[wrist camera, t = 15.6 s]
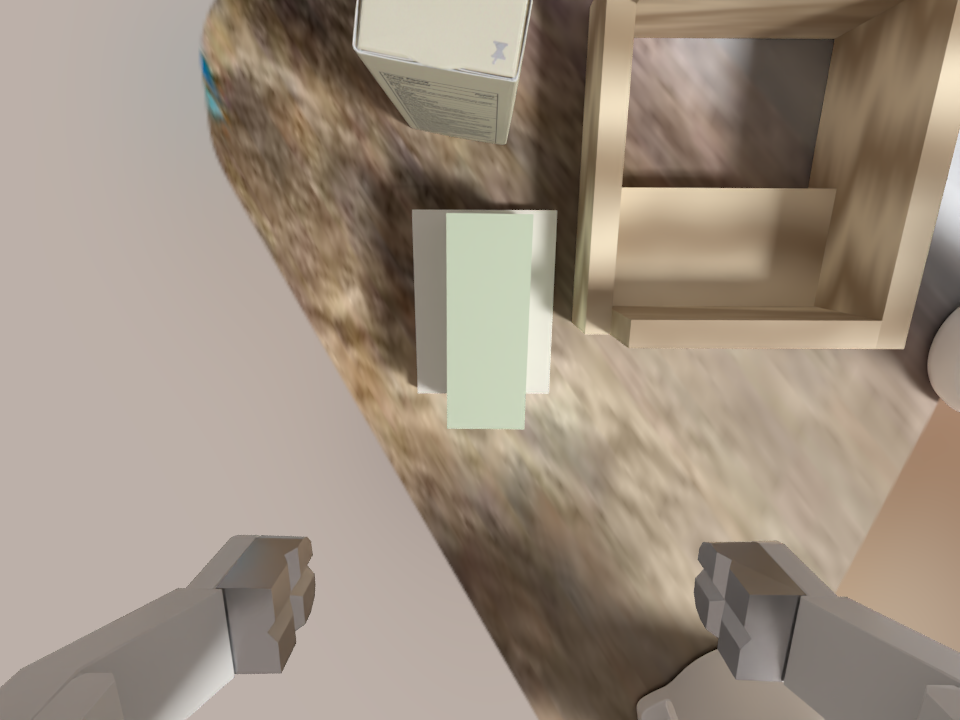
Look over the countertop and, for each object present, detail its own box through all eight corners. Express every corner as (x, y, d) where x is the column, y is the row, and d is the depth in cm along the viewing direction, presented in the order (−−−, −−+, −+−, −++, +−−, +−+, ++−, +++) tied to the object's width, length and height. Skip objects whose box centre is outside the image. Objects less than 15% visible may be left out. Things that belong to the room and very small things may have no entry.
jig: (805, 322, 31) (903, 349, 24) (571, 322, 31) (600, 347, 24) (865, 9, 27) (1011, -76, 19) (589, 7, 26) (631, -79, 19)
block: (517, 400, 32) (524, 429, 27) (451, 399, 32) (447, 428, 27) (524, 217, 29) (533, 214, 24) (451, 216, 28) (446, 212, 24)
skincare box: (519, 70, 27) (552, -57, 16) (506, 148, 28) (526, 85, 17) (412, 48, 27) (362, -98, 15) (402, 128, 28) (349, 50, 16)
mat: (546, 388, 33) (548, 393, 32) (419, 388, 32) (417, 393, 31) (554, 211, 29) (557, 210, 28) (413, 210, 29) (411, 209, 28)
